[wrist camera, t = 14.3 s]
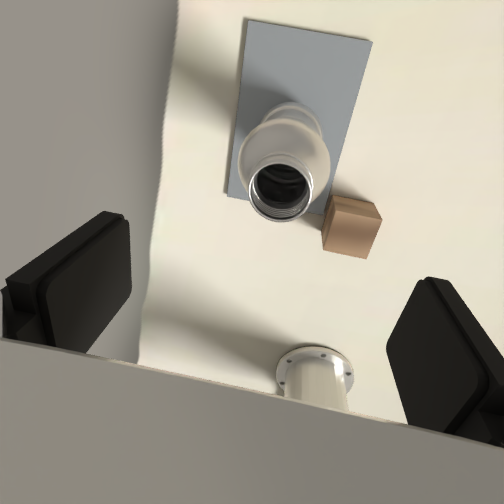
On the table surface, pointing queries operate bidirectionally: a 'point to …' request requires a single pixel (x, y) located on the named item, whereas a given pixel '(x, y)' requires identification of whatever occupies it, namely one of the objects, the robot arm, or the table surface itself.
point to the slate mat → (298, 87)
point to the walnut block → (350, 227)
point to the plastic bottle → (284, 162)
